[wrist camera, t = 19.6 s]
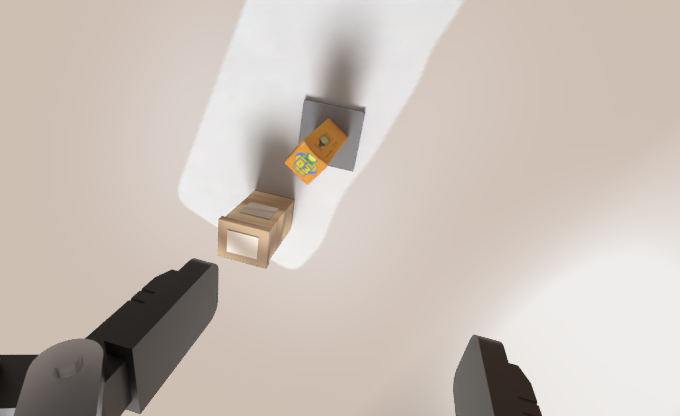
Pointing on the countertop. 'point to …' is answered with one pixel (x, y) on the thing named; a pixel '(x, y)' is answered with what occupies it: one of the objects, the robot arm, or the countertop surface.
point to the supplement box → (316, 151)
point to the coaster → (343, 119)
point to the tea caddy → (255, 228)
